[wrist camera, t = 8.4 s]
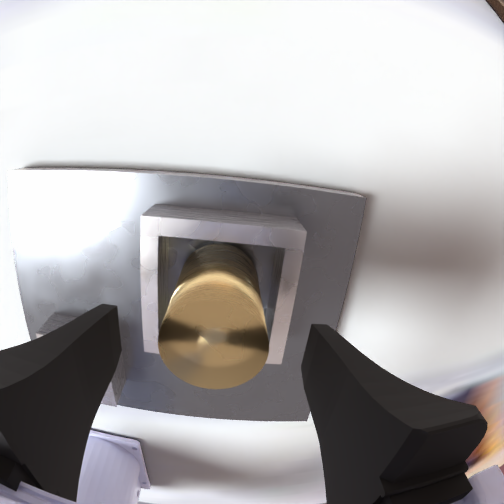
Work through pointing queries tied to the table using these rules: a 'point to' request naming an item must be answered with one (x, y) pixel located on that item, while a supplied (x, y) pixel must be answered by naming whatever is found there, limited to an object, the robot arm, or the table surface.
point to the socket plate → (171, 263)
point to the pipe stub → (215, 320)
